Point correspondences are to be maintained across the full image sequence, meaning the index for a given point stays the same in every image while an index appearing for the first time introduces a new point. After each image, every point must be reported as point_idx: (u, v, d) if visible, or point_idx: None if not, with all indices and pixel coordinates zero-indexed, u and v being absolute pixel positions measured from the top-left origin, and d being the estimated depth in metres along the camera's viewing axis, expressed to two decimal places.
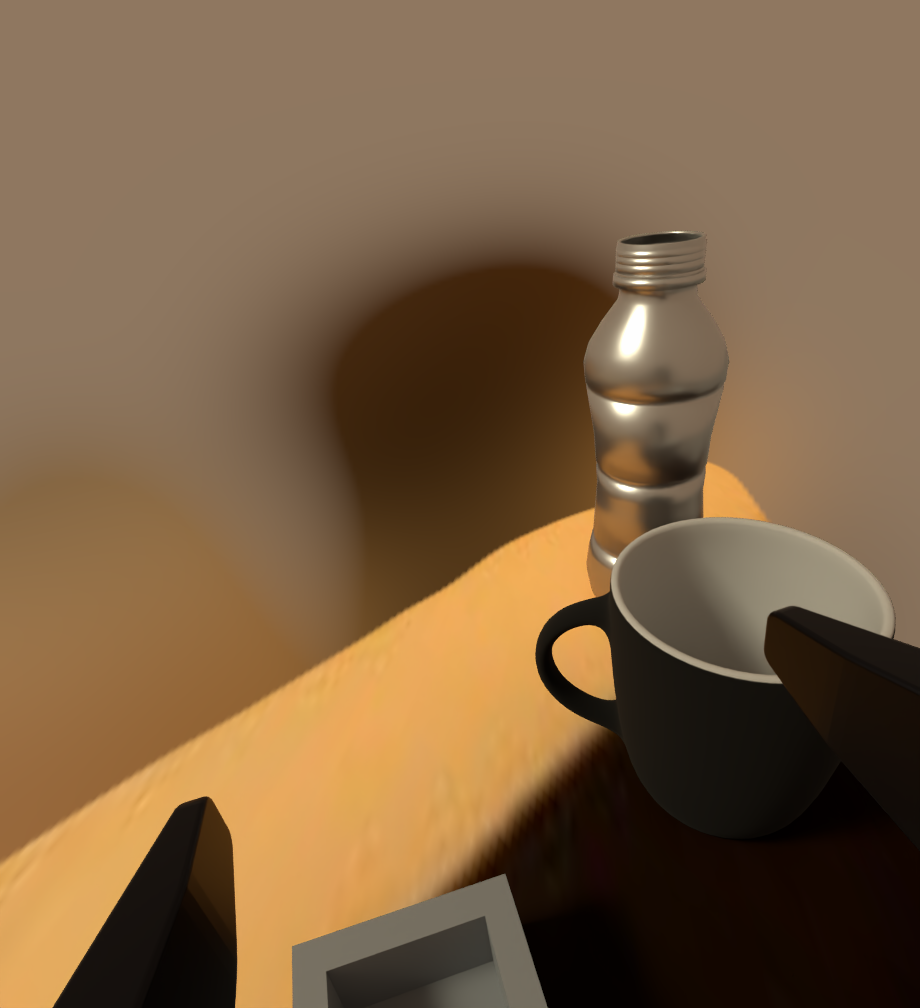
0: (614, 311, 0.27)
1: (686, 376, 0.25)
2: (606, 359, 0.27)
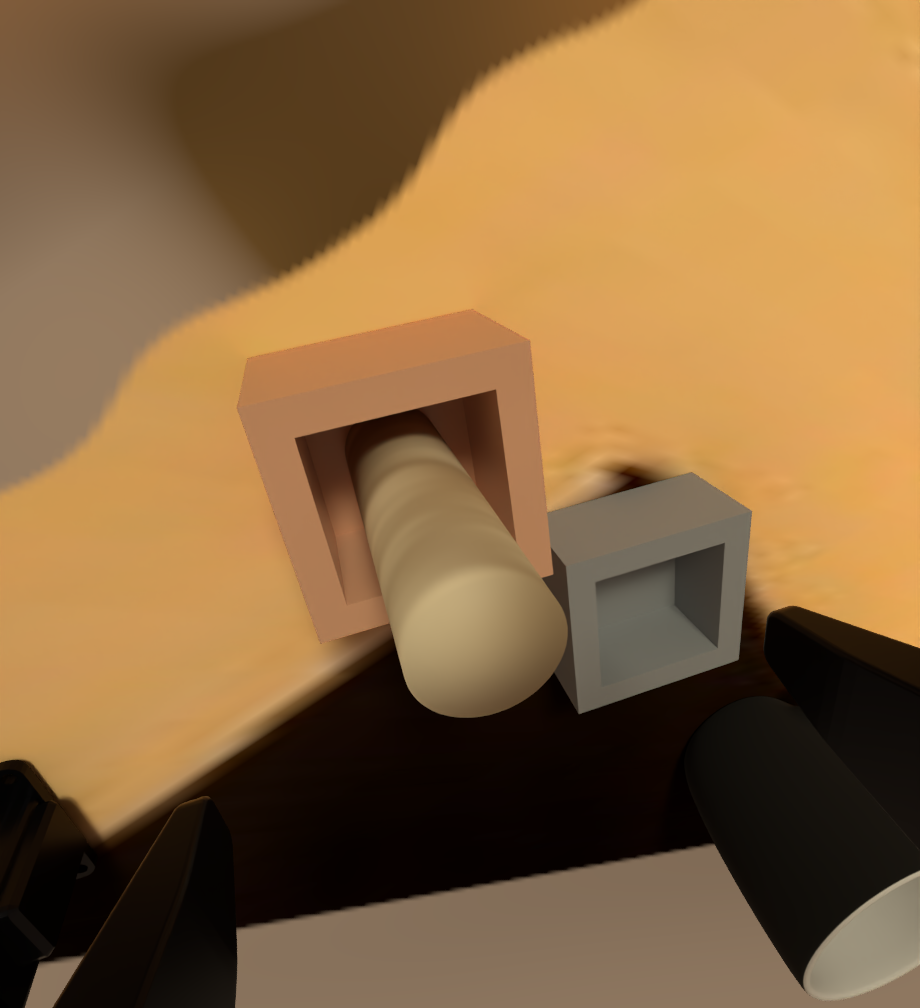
0: None
1: None
2: None
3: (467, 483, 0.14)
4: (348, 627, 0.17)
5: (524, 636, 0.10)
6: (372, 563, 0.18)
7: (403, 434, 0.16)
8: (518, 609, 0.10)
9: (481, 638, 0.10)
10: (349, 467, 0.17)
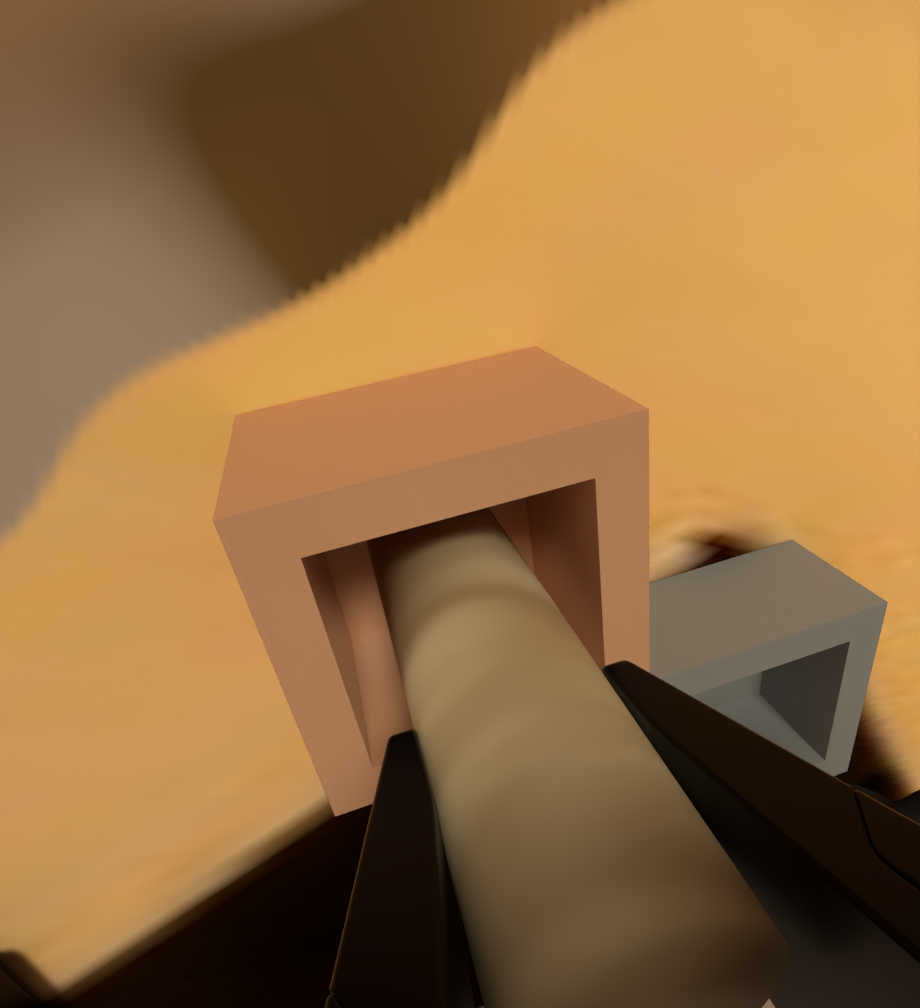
0: None
1: None
2: None
3: (562, 631, 0.09)
4: (373, 793, 0.12)
5: (715, 989, 0.06)
6: (403, 690, 0.13)
7: (454, 531, 0.11)
8: (716, 959, 0.05)
9: (644, 1007, 0.06)
10: (373, 565, 0.13)
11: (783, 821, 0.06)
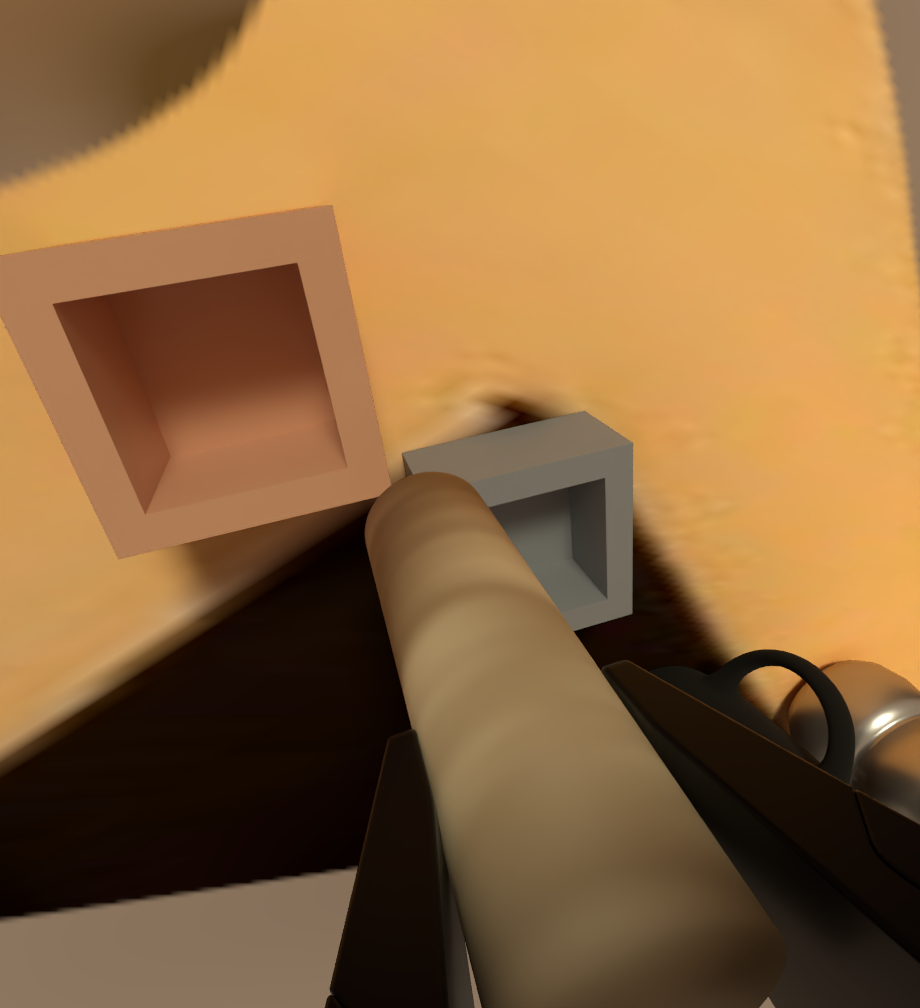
0: None
1: None
2: None
3: (560, 629, 0.09)
4: (150, 541, 0.15)
5: (714, 988, 0.06)
6: (194, 478, 0.16)
7: (452, 530, 0.11)
8: (714, 957, 0.05)
9: (642, 1007, 0.06)
10: (372, 563, 0.13)
11: (783, 821, 0.06)
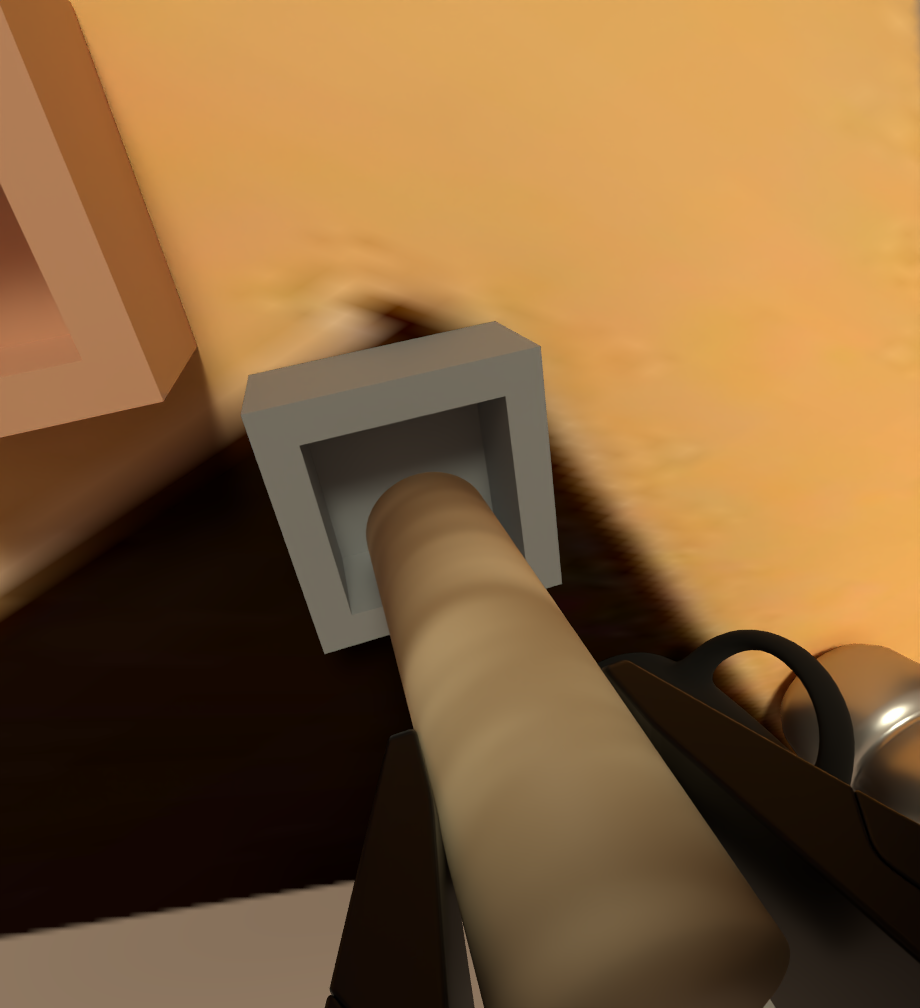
0: None
1: None
2: None
3: (562, 629, 0.09)
4: None
5: (717, 989, 0.06)
6: None
7: (454, 530, 0.11)
8: (716, 958, 0.05)
9: None
10: (373, 564, 0.13)
11: (783, 821, 0.06)
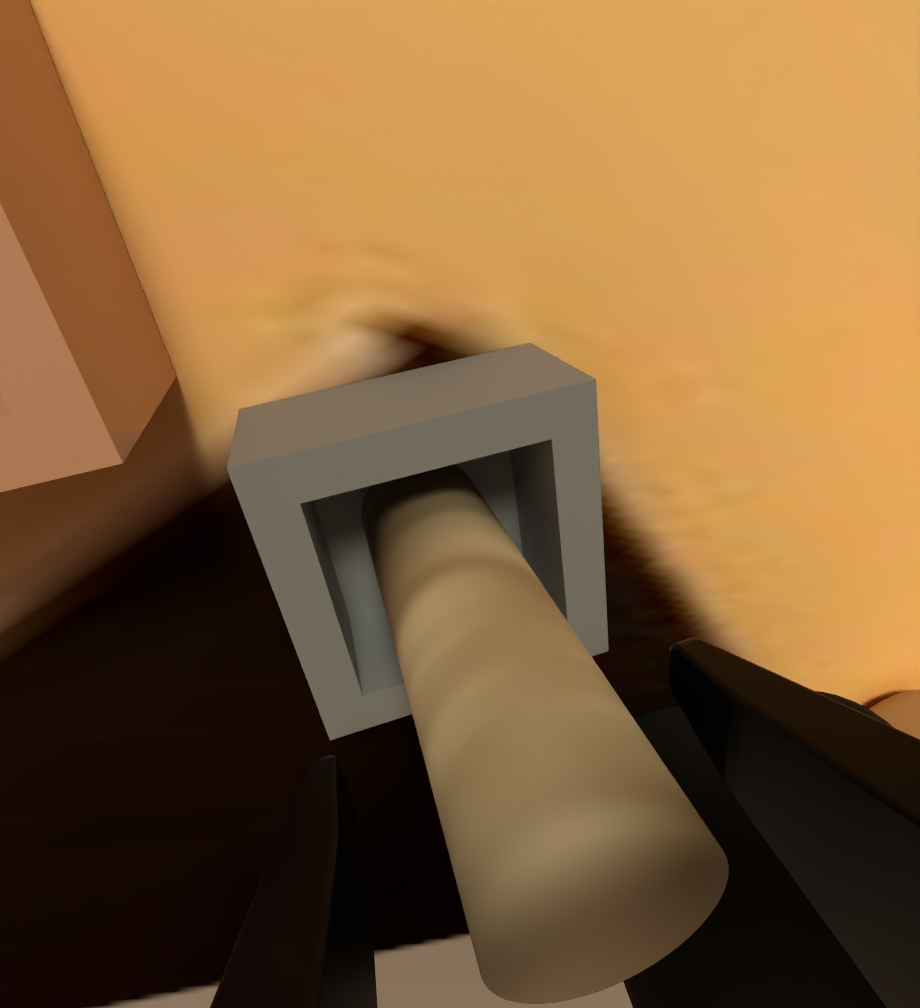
0: None
1: None
2: None
3: (541, 598, 0.10)
4: None
5: (665, 896, 0.07)
6: None
7: (443, 510, 0.12)
8: (663, 866, 0.06)
9: (601, 908, 0.06)
10: (369, 542, 0.14)
11: (882, 783, 0.06)
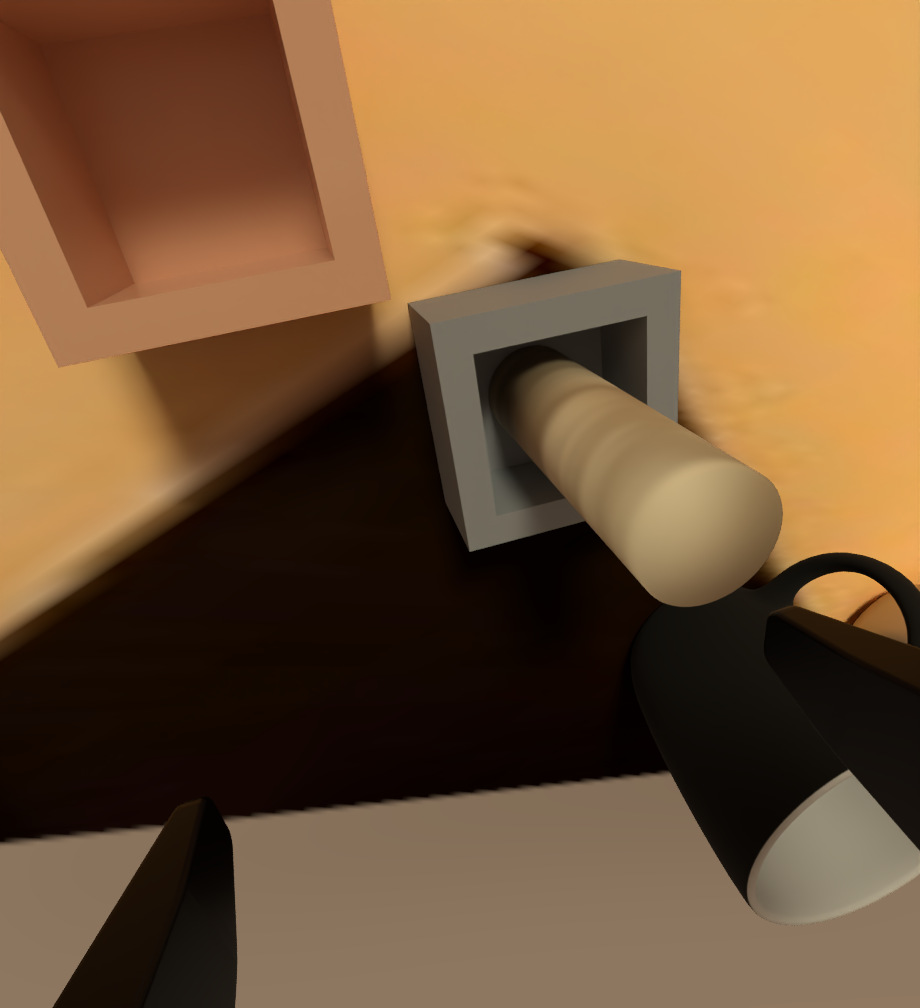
0: None
1: None
2: None
3: (647, 405, 0.14)
4: (96, 345, 0.12)
5: (744, 528, 0.11)
6: (154, 288, 0.14)
7: (565, 367, 0.17)
8: (745, 500, 0.11)
9: (708, 526, 0.11)
10: (500, 403, 0.18)
11: None
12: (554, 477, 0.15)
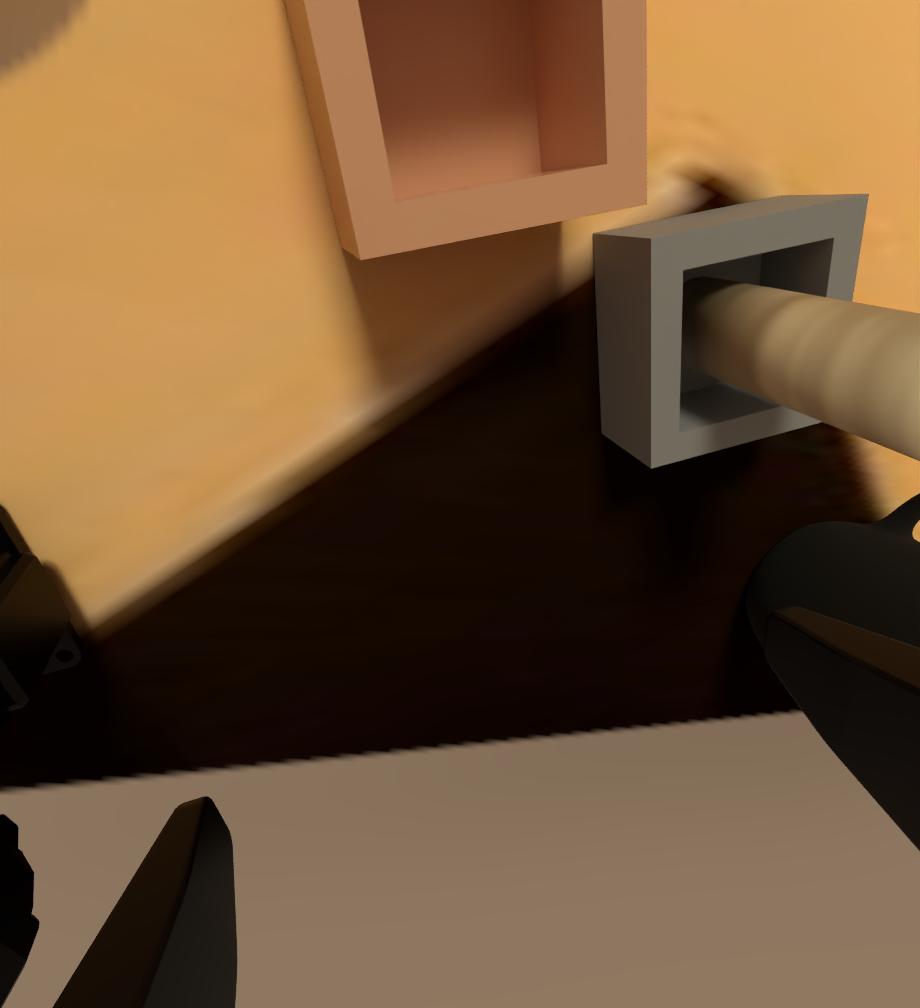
0: None
1: None
2: None
3: None
4: (395, 240, 0.13)
5: None
6: (421, 196, 0.15)
7: (758, 286, 0.18)
8: None
9: None
10: None
11: None
12: (776, 378, 0.16)
